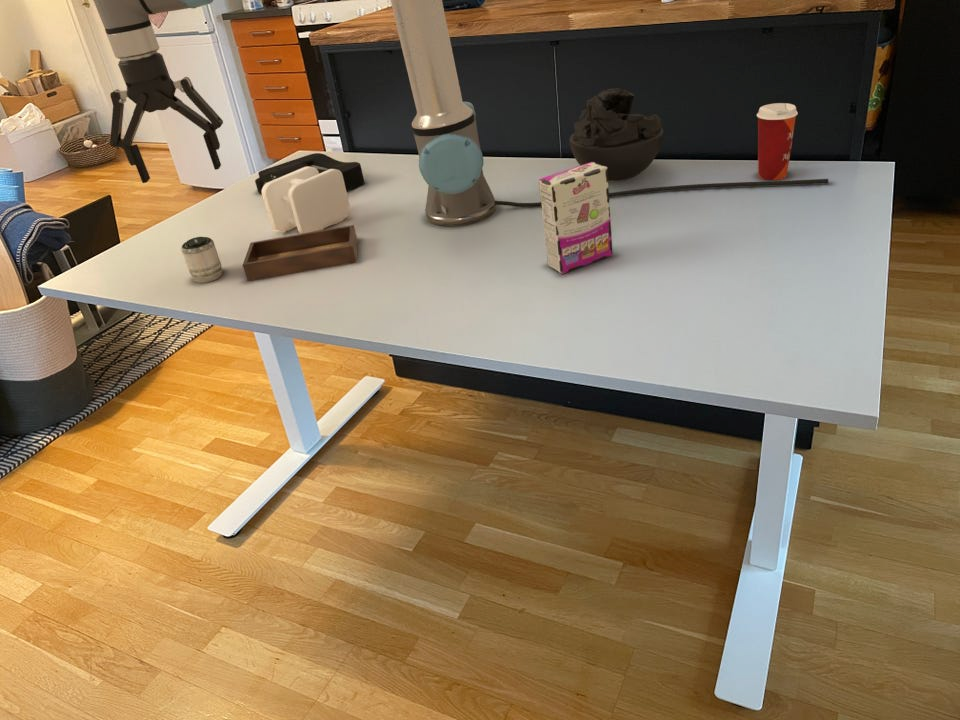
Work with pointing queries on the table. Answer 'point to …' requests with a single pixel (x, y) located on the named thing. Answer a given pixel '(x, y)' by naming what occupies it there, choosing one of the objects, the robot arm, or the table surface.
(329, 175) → the cable organizer
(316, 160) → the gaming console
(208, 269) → the camera lens
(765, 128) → the paper cup
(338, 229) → the box
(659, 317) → the table surface
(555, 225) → the candy bar box
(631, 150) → the coal bowl
